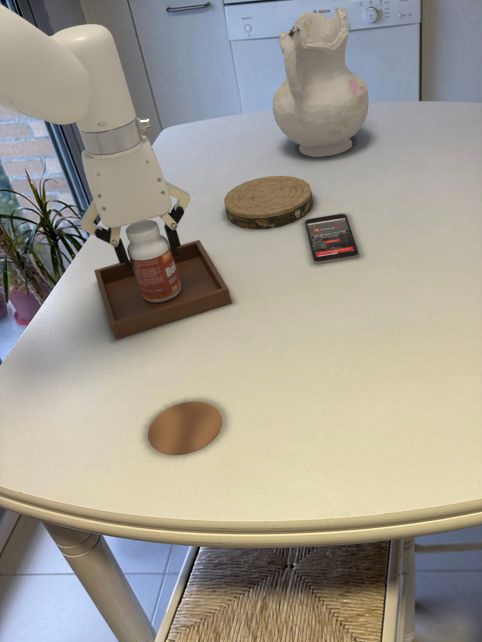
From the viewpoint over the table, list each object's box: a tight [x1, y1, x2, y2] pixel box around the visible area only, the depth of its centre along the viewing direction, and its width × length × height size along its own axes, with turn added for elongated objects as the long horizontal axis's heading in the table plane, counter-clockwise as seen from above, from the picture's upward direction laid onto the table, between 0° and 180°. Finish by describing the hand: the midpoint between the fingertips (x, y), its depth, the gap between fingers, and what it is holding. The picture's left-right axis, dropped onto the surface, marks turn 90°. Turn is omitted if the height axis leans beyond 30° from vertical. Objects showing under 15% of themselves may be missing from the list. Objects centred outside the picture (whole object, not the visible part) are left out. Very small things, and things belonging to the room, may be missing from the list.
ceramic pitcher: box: [272, 6, 370, 158], centre depth 128 cm, size 22×20×25 cm
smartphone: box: [304, 213, 360, 265], centre depth 107 cm, size 7×1×15 cm
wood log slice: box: [223, 175, 314, 230], centre depth 117 cm, size 16×16×3 cm
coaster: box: [147, 401, 223, 456], centre depth 78 cm, size 9×9×1 cm
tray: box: [94, 239, 233, 341], centre depth 100 cm, size 18×18×3 cm
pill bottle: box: [125, 219, 181, 303], centre depth 97 cm, size 6×6×11 cm
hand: (151, 258), depth 97 cm, fingers open, 6 cm apart
